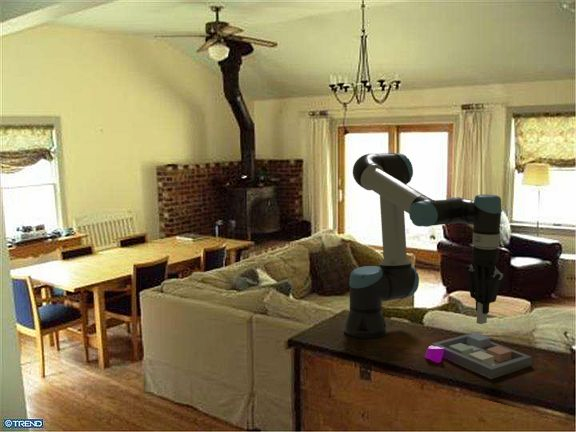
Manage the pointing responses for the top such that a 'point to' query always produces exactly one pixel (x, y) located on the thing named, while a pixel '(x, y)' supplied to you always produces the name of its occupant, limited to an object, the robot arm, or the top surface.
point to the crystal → (434, 353)
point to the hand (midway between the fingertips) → (481, 322)
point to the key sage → (462, 349)
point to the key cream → (482, 357)
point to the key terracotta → (499, 353)
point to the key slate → (478, 340)
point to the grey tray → (489, 371)
